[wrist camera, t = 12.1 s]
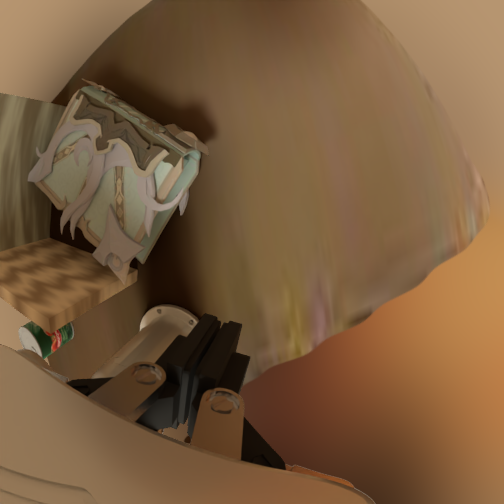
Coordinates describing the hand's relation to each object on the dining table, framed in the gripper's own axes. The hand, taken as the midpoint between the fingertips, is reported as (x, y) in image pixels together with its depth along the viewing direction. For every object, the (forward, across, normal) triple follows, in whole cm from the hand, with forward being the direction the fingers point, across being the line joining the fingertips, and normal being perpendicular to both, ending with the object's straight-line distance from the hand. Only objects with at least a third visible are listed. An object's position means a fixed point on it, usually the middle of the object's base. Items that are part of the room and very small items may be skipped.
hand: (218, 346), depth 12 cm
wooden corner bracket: (+27, +32, -2) cm, 42 cm away
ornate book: (+28, +27, -5) cm, 39 cm away
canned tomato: (+27, +40, +29) cm, 56 cm away
